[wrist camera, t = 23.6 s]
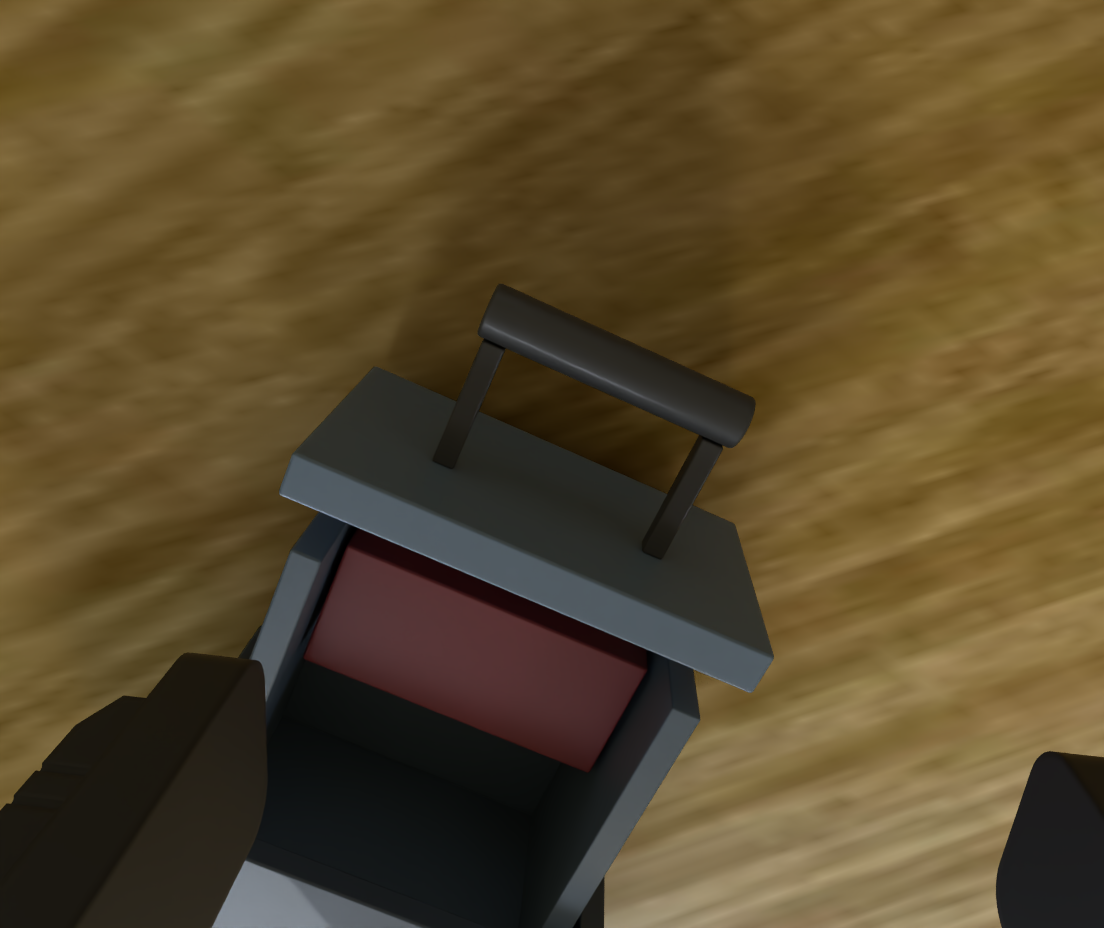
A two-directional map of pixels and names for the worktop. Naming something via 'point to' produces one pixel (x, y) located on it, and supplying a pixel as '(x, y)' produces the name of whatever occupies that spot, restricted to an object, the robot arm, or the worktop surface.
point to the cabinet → (334, 894)
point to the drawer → (528, 571)
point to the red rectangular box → (474, 652)
